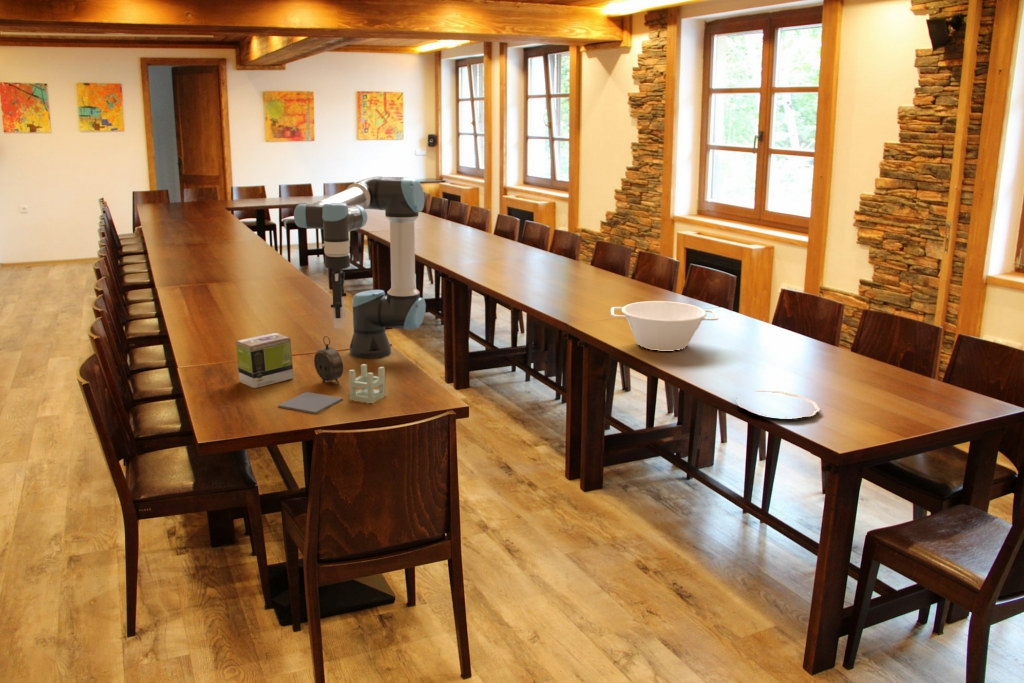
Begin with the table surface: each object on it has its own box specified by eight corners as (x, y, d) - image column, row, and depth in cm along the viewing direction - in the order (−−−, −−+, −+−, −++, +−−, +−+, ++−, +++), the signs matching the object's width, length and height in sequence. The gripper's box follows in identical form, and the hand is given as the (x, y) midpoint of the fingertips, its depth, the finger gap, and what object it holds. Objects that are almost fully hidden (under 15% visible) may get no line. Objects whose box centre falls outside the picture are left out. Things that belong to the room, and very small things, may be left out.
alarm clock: (345, 385, 294) (343, 337, 290) (331, 388, 290) (329, 340, 286) (325, 377, 301) (323, 331, 297) (312, 381, 298) (309, 334, 293)
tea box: (278, 372, 306) (276, 331, 302) (294, 379, 299) (291, 337, 295) (238, 382, 296) (235, 339, 292) (253, 389, 289) (250, 345, 285)
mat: (306, 393, 285) (306, 391, 285) (342, 399, 280) (342, 398, 280) (278, 407, 273) (278, 405, 273) (315, 413, 267) (315, 412, 267)
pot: (609, 355, 330) (611, 318, 326) (609, 333, 361) (610, 299, 357) (719, 359, 327) (722, 322, 323) (709, 336, 357) (712, 302, 353)
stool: (364, 392, 287) (363, 363, 284) (385, 396, 284) (384, 367, 281) (350, 400, 280) (348, 370, 277) (371, 404, 277) (370, 374, 274)
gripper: (326, 247, 281) (329, 313, 286) (321, 262, 257) (324, 333, 262) (351, 247, 282) (353, 312, 287) (347, 261, 258) (350, 332, 263)
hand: (339, 322), depth 275 cm, fingers open, 13 cm apart
